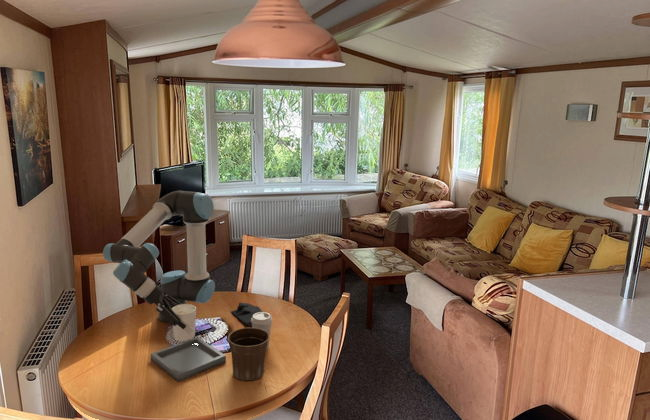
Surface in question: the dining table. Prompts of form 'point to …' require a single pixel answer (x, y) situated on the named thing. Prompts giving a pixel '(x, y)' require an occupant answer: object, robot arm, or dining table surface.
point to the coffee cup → (262, 322)
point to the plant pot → (248, 352)
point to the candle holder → (187, 315)
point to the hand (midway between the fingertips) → (192, 325)
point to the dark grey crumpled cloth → (246, 312)
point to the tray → (187, 358)
